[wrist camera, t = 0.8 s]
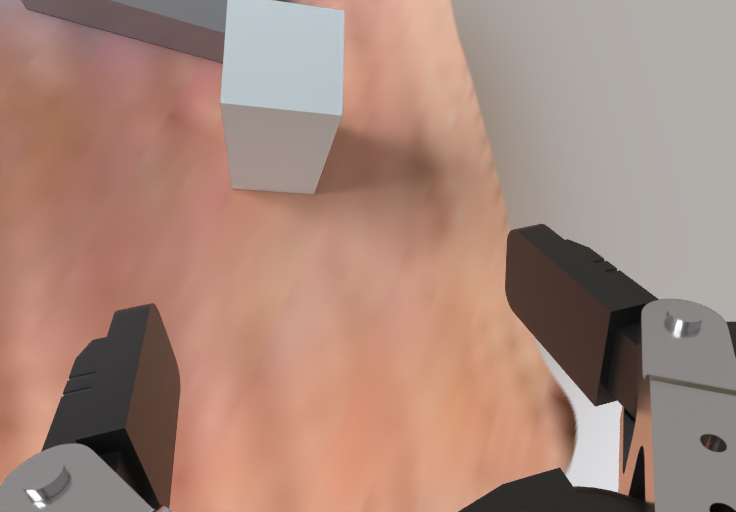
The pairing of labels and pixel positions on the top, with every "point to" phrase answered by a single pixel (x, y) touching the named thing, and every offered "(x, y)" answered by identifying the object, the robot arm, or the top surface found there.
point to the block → (281, 93)
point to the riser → (150, 21)
